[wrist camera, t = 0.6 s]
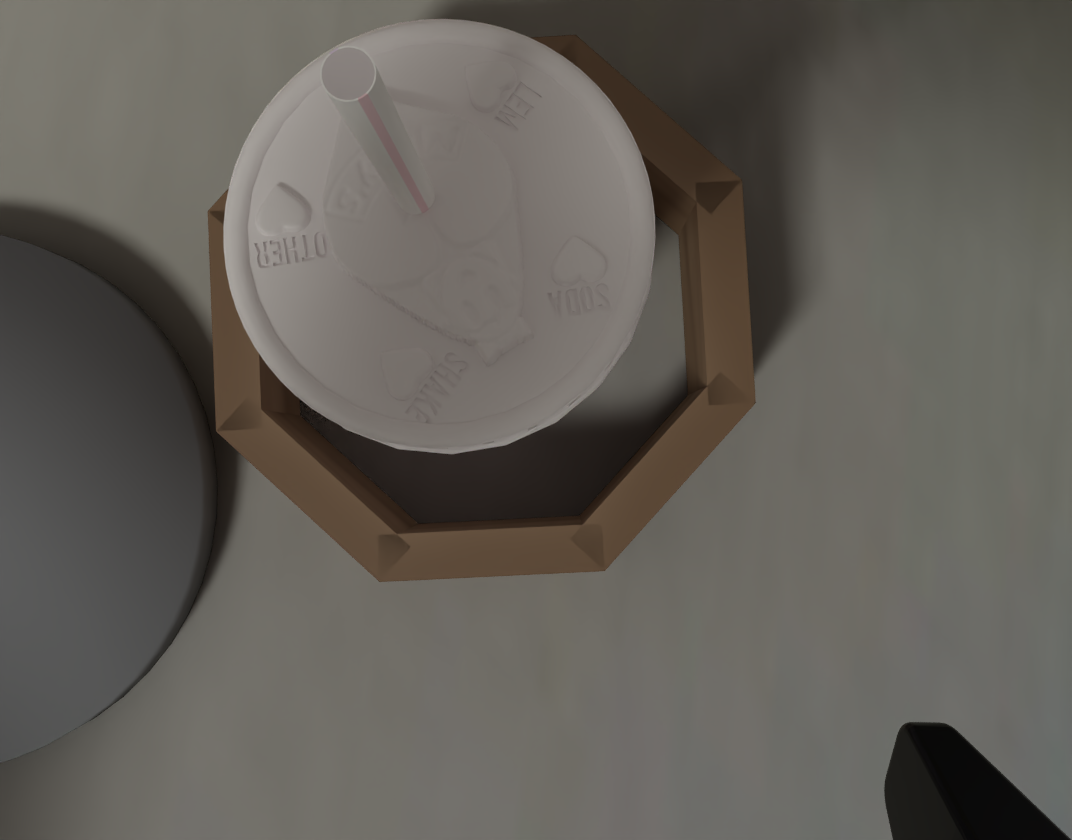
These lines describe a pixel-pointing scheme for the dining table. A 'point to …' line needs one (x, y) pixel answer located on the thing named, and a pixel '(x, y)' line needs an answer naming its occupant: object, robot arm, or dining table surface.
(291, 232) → the smoothie
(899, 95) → the dining table surface
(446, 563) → the brown octagonal holder
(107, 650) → the rubber mat
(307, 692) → the dining table surface
